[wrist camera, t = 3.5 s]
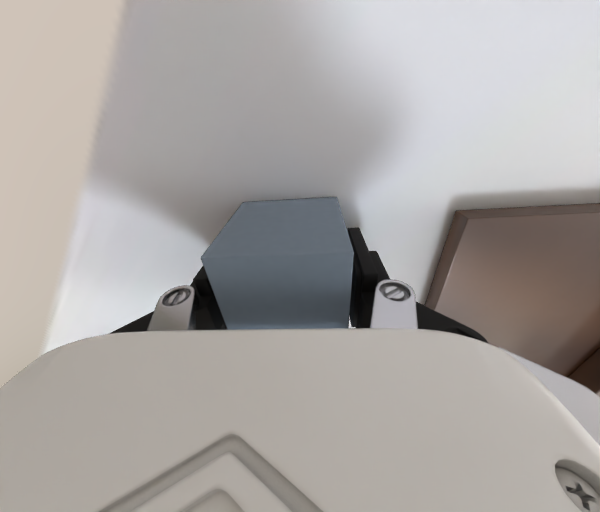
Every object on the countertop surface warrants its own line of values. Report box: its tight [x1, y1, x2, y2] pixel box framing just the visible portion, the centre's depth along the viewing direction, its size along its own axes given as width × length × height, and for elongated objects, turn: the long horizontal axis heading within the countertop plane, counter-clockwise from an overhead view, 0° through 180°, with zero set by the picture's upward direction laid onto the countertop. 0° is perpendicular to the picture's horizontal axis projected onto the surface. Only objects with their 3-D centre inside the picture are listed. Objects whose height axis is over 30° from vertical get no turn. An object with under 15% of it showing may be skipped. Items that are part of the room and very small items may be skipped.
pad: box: [201, 197, 354, 330], centre depth 10 cm, size 6×5×5 cm
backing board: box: [425, 203, 600, 397], centre depth 14 cm, size 18×12×2 cm, turn 4°
